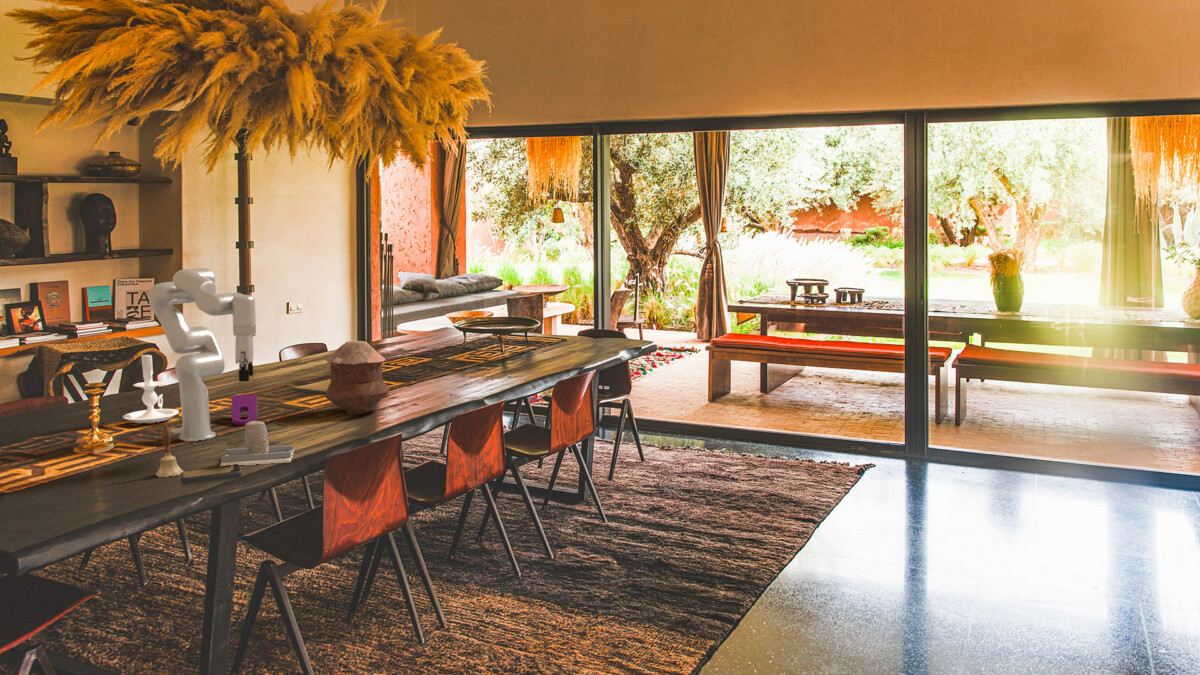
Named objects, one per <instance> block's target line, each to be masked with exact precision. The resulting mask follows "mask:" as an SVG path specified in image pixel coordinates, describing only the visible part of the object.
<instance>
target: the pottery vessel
mask: <svg viewBox="0 0 1200 675" xmlns="http://www.w3.org/2000/svg"><path fill="white" fill-rule="evenodd" d="M325 361H326V362H328V363H330V379H329V380H330V383H329V385H328V387H327V388H326V391H325V394H324V396H325V399H327V400H328V401H329V402H331V403H332V404H334V405H335V406H337V407H339V408H340V409H342V410H343V411H345V412H346V414H347V415H364V413H365V414H368V413H370V412H372V409H373V408H374V407H375V406H376V405H377V404H379V403H380V402H381V400H383V399H384V398H386V397H387V396H388V395H389V393H390V389H389V387H388V385H387V383H386V382H385V381H384V379H383V362H385V361H386V358H385V357H384V356H382V355H381V353H379V352H378V351H377V350H375V349H374V348H373V347H372V346H371V345H370V344H369V343H368V342H367V341H363V340H349V341H345V343H343V344H342V345H340V346H339V347H338V348H337V349H336V351H334V352H333V353H332V354H330V356H329V355H328V356H327V357H326V359H325Z"/></svg>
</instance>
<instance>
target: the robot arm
mask: <svg viewBox="0 0 1200 675" xmlns="http://www.w3.org/2000/svg"><path fill="white" fill-rule="evenodd" d="M216 292H217V285H216V277H215V273H213V271H212V270H211V269H208V268H207V267H195V268H183V269H180V270H178V271H176V272H175V274H174V275H173V278H172V281H165V282H159V283H156V284H154V285H153V286H152V287H151V288H150V289H149V292H148V302H149V306H150V309H151V311H152V312H153V314H154V315H155V316H156V318H157V320H158V321H159V323H160V325H161V327H162V330H163V332H164V336H166V339H167V342H168V344H169V347H170V348H171V350H172V351H173V353H174V354H178V355H183V356H181V357H179V358H178V359H177V360H176V362H175V365H174V368H175V370H174V371H175V374H176V377H177V381H178V386H179V396H180V407H181V410H180V411H181V421H182V423H181V424H182V426H181V427H178V428H175V427H174V428H173V427H171V428H170V429H169V430H170V434H173V435H179V436H178V440H179V439H180V441H181V440H183V441H182V442H199V440H201V441H206V439H207V440H210V439H213V438H215V437H216V432H215V431H212V430H211V416H210V415H211V414H210V403H209V402H210V400H209V399H210V398H209V390H208V388H207V386H206V385H205V383H204V382H203V381H202V379H207V378H213V377H217V376H220V375H221V374H223V373H224V371H225V359H224V357H223V355H222V352H221V349H220V347H219V345H218V342H217V340H216V338H215V335H214V333H213V332H212V331H211V330H210V328H208V327H207V326H190V325H189V324H188V322H187V320H186V317H185V316H184V314H183V313H182V312H181V311H180V310H178V309H177V308H176V307H175V306H173V305H179V304H180V305H181V304H191V303H195V306H196V308H198V310H200V311H202V312H204V313H205V314H207V315H210V316H213V317H216V316H217V317H218V316H226V315H227V316H228V315H231V316H232V335H233V336H235V342H234V343H235V344H234V345H235V348H234V349H235V350H234V351H235V354H234V356H235V357H234V358H235V364H236V365H238V381H239V382H249V381H250V377H251V376H253V375H254V364H253V360H254V351H255V350H254V336H255V335H257V326H256V325H257V323H256V320H257V319H256V299H255V297H254V296H253V295H250V294H243V293H241V292H225V293H216ZM184 354H185V355H184Z"/></svg>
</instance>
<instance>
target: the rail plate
mask: <svg viewBox="0 0 1200 675" xmlns="http://www.w3.org/2000/svg"><path fill="white" fill-rule="evenodd" d="M293 452H295V450H294V445H293V444H286V445H272V446H270V445H269V450H268V453H262V454H248V452H247V449H246V447H242V448H241V447H240V448H225V454H224V455H222V456H221V457H220V458H221V459H220V461H221V462H220V467H221V466H226V465H233V464H238V465H244V466H255V465H256V464H259V465H269V464H270V465H271V463H273V464H285V463H291V461H292V459H291V458H293V456H294V453H293ZM292 455H293V456H292ZM256 466H257V465H256Z"/></svg>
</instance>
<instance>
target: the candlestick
mask: <svg viewBox="0 0 1200 675" xmlns="http://www.w3.org/2000/svg"><path fill="white" fill-rule="evenodd" d="M141 366H142V375H143V376H142V377H143V378H142V379H143V381H144V382H136V383H134V384H132V386H133V387H136V388H141V389H142V390H144V392H143V394H142V397H141V401H142V402H143V404H144V405H145V406H146V408H147V409H143V410H137V411H133V412H129V413H126V414H124V415H123V416H122V419H125V420H127V421H130V422H131V423H135V424H142V423H145V424H146V423H147V424H156V423H155V422H157V423H162V422H164V421H168V420H170V419H171V418H173V417H175V416H176V415H177V414H179V413H180V411H179V410H178V409H175V408H163V404H164V403H163V402H164V399H163V395H164V394H163V393H162V394H159V395H157V393H156V391H155V388H156V387H158V386H161V385H164V384H165V382H164V381H161V380H160V381H159V380H157V381H154V380H153V375H154V370H153V356H152V354H151V355H150V354H141ZM156 403H157V406H158V407H159V408H154V406H155V405H156ZM161 421H162V422H161Z"/></svg>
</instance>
